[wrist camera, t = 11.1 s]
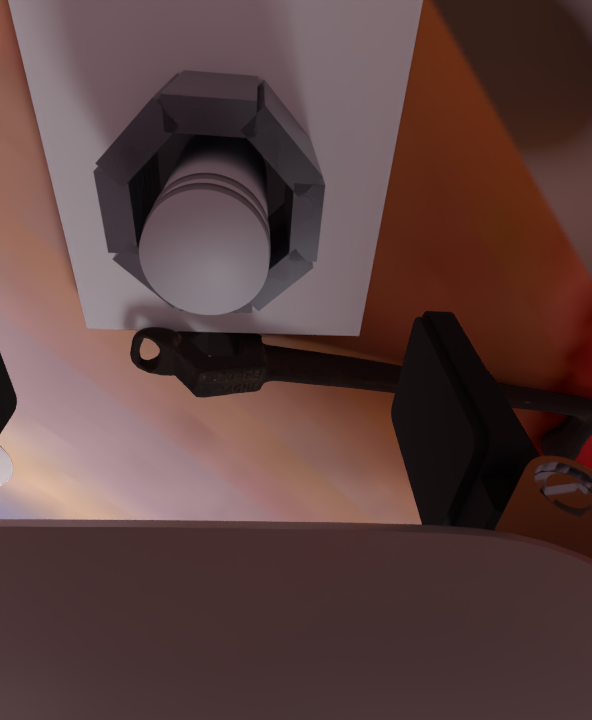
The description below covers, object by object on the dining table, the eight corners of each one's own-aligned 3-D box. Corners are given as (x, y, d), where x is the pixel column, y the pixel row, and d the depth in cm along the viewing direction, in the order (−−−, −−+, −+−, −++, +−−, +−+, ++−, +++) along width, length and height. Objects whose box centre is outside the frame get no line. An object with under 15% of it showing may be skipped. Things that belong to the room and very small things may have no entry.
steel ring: (301, 257, 22) (310, 315, 18) (144, 250, 21) (118, 308, 17) (318, 80, 18) (334, 106, 14) (120, 65, 17) (78, 87, 13)
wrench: (541, 430, 36) (130, 373, 27) (581, 378, 33) (140, 297, 25) (584, 484, 32) (116, 437, 23) (635, 430, 29) (126, 354, 21)
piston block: (354, 320, 26) (391, 451, 19) (95, 312, 25) (24, 449, 18) (423, -64, 16) (558, -109, 9) (1, -108, 15) (-250, -204, 8)
